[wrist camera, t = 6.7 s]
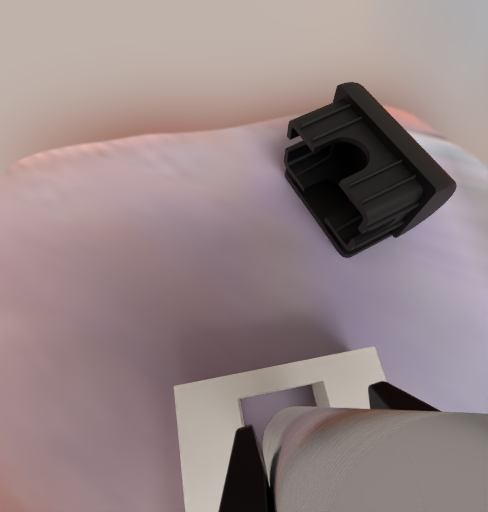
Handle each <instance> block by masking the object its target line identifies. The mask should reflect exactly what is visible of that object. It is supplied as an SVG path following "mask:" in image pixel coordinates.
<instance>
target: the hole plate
mask: <svg viewBox="0 0 488 512" xmlns="http://www.w3.org/2000/svg"><path fill="white" fill-rule="evenodd" d="M380 381H385V382H386V379H385V376H384V373H383V370H382V367H381V364H380V361H379V358H378V355H377V352H376V349H375V346H373V347H368V348H363V349H358V350H353V351H347V352H342V353H337V354H332V355H327V356H322V357H317V358H312V359H307V360H302V361H297V362H292V363H287V364H282V365H277V366H272V367H267V368H262V369H257V370H252V371H247V372H242V373H237V374H232V375H227V376H222V377H216V378H211V379H206V380H201V381H196V382H191V383H186V384H181V385H176V386H174V395H175V405H176V416H177V427H178V438H179V449H180V460H181V471H182V481H183V492H184V503H185V512H218V511H219V506H220V502H221V497H222V492H223V488H224V483H225V478H226V474H227V469H228V464H229V460H230V455H231V451H232V446H233V441H234V437H235V432H236V430H237V429H238V428H241V427H244V426H245V425H244V419H243V413H242V407H241V401H240V399H243V398H248V397H252V396H257V395H262V394H267V393H272V392H277V391H282V390H287V389H292V388H297V387H302V386H307V385H312V389H313V393H314V397H315V401H316V405H317V407H334V408H359V409H370V404H369V395H368V386H369V385H371V384H374V383H377V382H380Z"/></svg>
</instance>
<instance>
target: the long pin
mask: <svg viewBox="0 0 488 512" xmlns="http://www.w3.org/2000/svg"><path fill="white" fill-rule="evenodd" d="M262 447H263V455H264V460H265V465H266V470H267V475H268V480H269V485H270V489H271V494H272V501H273V506H274V511H275V512H488V414H479V413H459V412H434V411H409V410H384V409H359V408H334V407H310V406H291V407H287V408H284V409H282V410H280V411H279V412H277V413H276V414H275V415H274V416H273V417H272V418H271V419H270V421H269V422H268V424H267V426H266V428H265V431H264V435H263V443H262Z"/></svg>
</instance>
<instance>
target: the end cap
mask: <svg viewBox="0 0 488 512" xmlns="http://www.w3.org/2000/svg"><path fill="white" fill-rule="evenodd" d="M298 136H301V138H302V139H303V140H304V141H302V142H299V143H297V144H295V145H292V146H290V147H288V148H286V149H285V156H284V163H285V166H286V171H285V177H286V179H287V180H288V182H289V183H290V185H291V186H292V187H293V189H294V190H295V192H296V193H297V194H298V196H299V197H300V199H301V200H302V201H303V203H304V204H305V206H306V207H307V208H308V210H309V211H310V213H311V214H312V215H313V217H314V218H315V220H316V221H317V222H318V224H319V225H320V227H321V228H322V230H323V231H324V232H325V234H326V235H327V237H328V238H329V239H330V241H331V242H332V244H333V245H334V246H335V248H336V249H337V251H338V252H339V253H340V255H342V256H343V257H346V258H348V257H352V256H354V255H356V254H357V253H359V252H361V251H363V250H365V249H367V248H369V247H371V246H373V245H375V244H377V243H379V242H380V241H382V240H384V239H386V238H388V237H390V236H391V235H393V237H395V238H397V237H398V236H400V235H402V234H404V233H405V232H407V231H409V230H410V229H412V228H413V227H415V226H416V225H418V224H419V223H421V222H422V221H424V220H425V219H426V218H428V217H429V216H430V215H432V214H433V213H434V212H435V211H436V210H438V209H439V208H440V207H441V206H442V205H443V204H444V203H445V202H446V201H447V200H448V199H449V198H450V197H451V196H452V195H453V193H454V192H455V190H456V182H455V181H454V180H453V179H452V178H451V177H450V176H449V175H448V174H447V173H446V172H445V171H444V170H443V168H442V167H441V166H440V165H439V164H438V163H437V162H436V161H435V160H434V159H433V158H432V157H431V156H430V155H429V154H428V153H427V152H426V151H425V150H424V149H423V148H422V147H421V146H420V145H419V144H418V143H417V142H416V141H415V140H414V139H413V138H412V136H411V135H410V134H409V133H408V132H407V131H406V130H405V129H404V128H403V127H402V126H401V125H400V124H399V123H398V122H397V121H396V120H395V119H394V118H393V117H392V116H391V115H390V114H389V113H388V112H387V111H386V110H385V109H384V108H383V107H382V106H381V104H379V102H377V100H376V99H375V98H374V97H373V96H372V95H371V94H370V93H369V92H368V91H367V90H366V89H365V88H364V87H363V86H362V85H360V84H359V83H354V82H349V83H344V84H340V85H338V86H337V89H336V92H335V96H334V100H333V103H331V104H329V105H327V106H324V107H322V108H320V109H317V110H315V111H312V112H310V113H308V114H305V115H303V116H301V117H298V118H296V119H293V120H291V121H290V122H289V125H288V133H287V137H288V138H289V139H290V140H291V139H293V138H295V137H298Z"/></svg>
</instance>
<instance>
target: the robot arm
mask: <svg viewBox="0 0 488 512" xmlns="http://www.w3.org/2000/svg"><path fill="white" fill-rule="evenodd" d="M368 395H369V404H370V409H384V410H409V411H434V412H442V411H440V410H438V409H436V408H434V407H432V406H431V405H429V404H427V403H425V402H423V401H421V400H419V399H418V398H416V397H414V396H412V395H410V394H408V393H406V392H404V391H403V390H401V389H399V388H397V387H395V386H393V385H391V384H389V383H388V382H385V381H380V382H377V383H374V384H371V385H369V386H368ZM218 512H275V511H274V506H273V501H272V494H271V489H270V485H269V481H268V478H267V474H266V470H265V466H264V463H263V459H262V455H261V452H260V448H259V445H258V441H257V438H256V434H255V431H254V427H253V426H252V425H247V426H244V427H241V428H238V429H237V430H236V432H235V437H234V441H233V446H232V451H231V455H230V460H229V464H228V469H227V474H226V478H225V483H224V488H223V492H222V497H221V502H220V506H219V511H218Z"/></svg>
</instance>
